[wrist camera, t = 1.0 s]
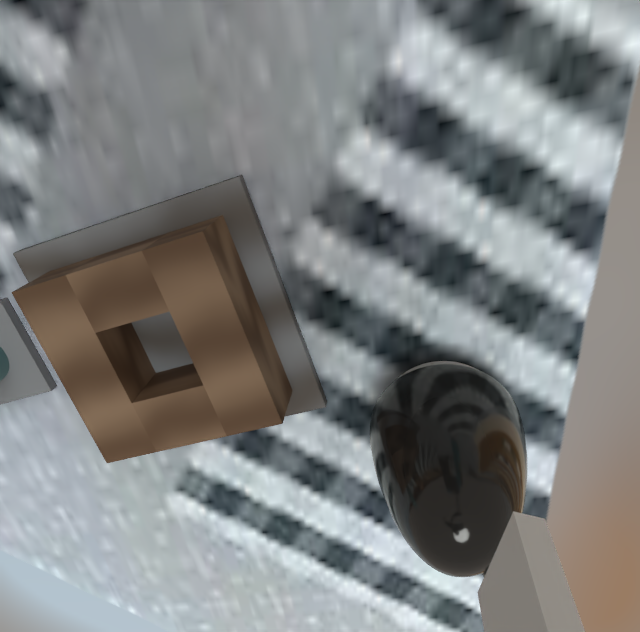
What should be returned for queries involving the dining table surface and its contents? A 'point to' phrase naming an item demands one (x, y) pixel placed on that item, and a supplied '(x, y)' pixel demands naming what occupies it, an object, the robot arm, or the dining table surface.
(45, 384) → the pad
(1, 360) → the peg
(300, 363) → the socket
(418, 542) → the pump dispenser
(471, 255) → the dining table surface
